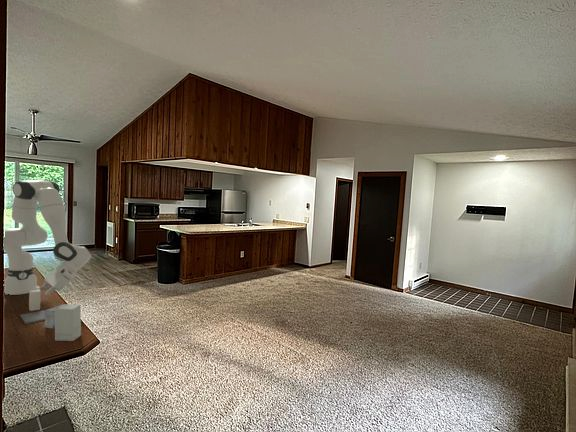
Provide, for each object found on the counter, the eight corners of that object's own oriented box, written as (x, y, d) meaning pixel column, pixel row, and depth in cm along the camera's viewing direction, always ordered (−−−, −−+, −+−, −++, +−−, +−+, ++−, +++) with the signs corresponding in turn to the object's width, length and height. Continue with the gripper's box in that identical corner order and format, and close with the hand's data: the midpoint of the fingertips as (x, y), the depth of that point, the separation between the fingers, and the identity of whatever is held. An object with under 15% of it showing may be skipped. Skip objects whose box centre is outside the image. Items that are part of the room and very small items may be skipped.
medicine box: (52, 329, 147) (52, 311, 146) (44, 327, 148) (44, 309, 147) (67, 322, 155) (67, 305, 154) (59, 321, 156) (60, 304, 155)
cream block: (28, 308, 167) (29, 290, 166) (38, 307, 170) (38, 289, 169) (30, 311, 164) (31, 292, 163) (40, 309, 167) (40, 291, 166)
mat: (20, 316, 157) (20, 314, 157) (54, 309, 168) (54, 308, 168) (25, 324, 149) (25, 322, 149) (60, 316, 160) (60, 315, 160)
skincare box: (81, 335, 143) (82, 304, 142) (72, 342, 137) (73, 309, 136) (62, 334, 142) (63, 303, 141) (53, 341, 136) (53, 308, 135)
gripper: (55, 264, 180) (33, 284, 174) (66, 272, 167) (42, 293, 161) (64, 271, 184) (43, 290, 177) (75, 279, 171) (53, 300, 164)
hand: (43, 292), depth 169 cm, fingers open, 8 cm apart
